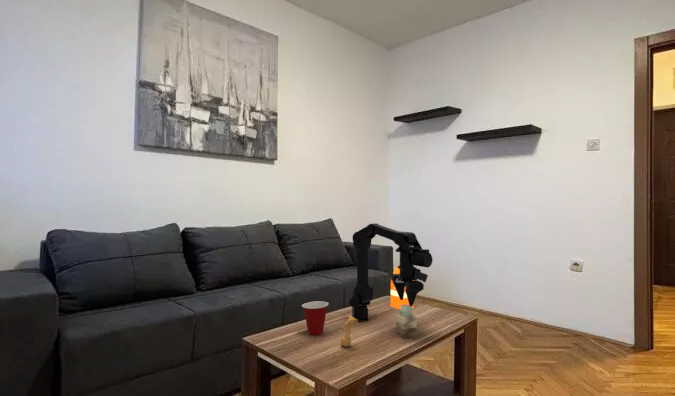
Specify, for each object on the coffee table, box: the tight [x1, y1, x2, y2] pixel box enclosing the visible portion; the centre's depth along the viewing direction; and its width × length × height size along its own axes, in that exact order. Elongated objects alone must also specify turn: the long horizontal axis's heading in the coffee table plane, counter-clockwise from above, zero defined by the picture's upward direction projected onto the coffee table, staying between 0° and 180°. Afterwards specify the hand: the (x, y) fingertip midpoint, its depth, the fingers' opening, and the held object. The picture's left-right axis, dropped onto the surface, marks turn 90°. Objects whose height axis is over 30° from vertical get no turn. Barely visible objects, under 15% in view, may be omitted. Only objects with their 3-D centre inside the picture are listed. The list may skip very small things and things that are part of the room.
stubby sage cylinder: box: [399, 304, 413, 318], centre depth 153 cm, size 5×5×4 cm
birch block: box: [395, 313, 418, 329], centre depth 153 cm, size 6×6×4 cm
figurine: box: [340, 314, 359, 348], centre depth 140 cm, size 8×6×12 cm
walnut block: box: [395, 324, 418, 340], centre depth 153 cm, size 6×6×4 cm
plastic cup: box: [301, 300, 329, 336], centre depth 155 cm, size 11×11×12 cm
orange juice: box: [390, 265, 414, 310], centre depth 193 cm, size 8×9×20 cm
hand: (406, 302), depth 153 cm, fingers open, 9 cm apart
